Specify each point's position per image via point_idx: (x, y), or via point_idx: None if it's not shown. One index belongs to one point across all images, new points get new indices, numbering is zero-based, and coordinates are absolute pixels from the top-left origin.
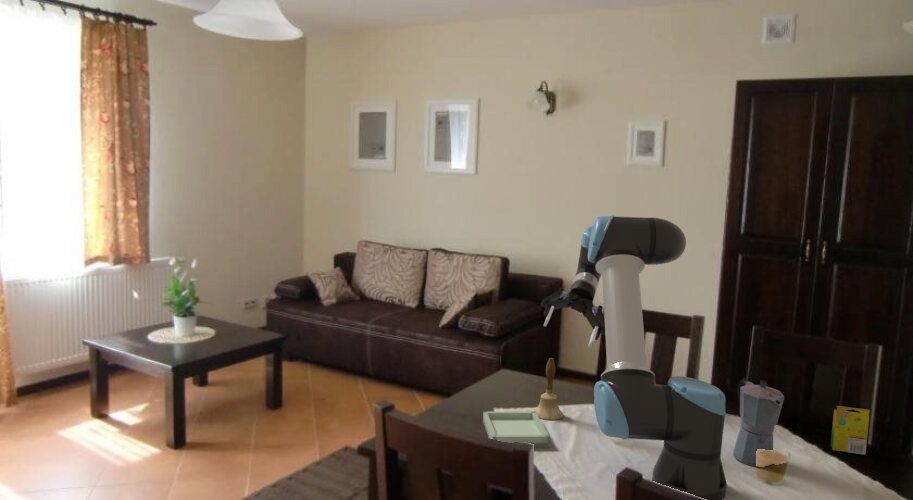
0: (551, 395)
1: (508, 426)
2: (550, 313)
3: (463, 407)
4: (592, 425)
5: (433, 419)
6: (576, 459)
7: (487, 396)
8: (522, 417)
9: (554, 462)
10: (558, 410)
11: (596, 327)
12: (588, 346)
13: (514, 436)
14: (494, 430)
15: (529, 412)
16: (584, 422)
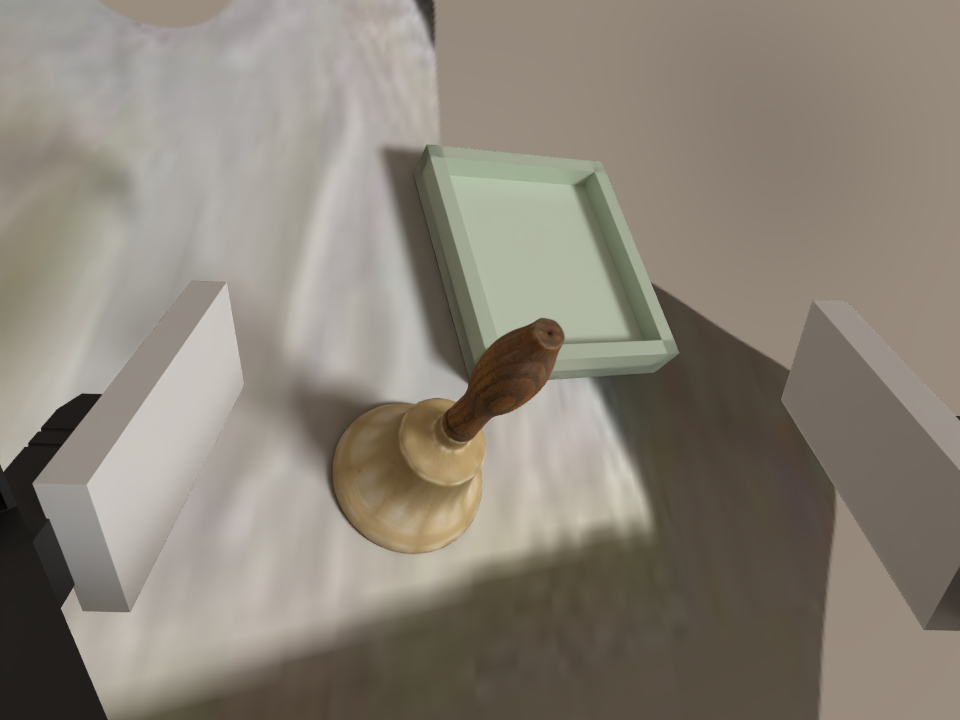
0: (436, 411)
1: (565, 287)
2: (895, 376)
3: (755, 509)
4: None
5: None
6: (325, 94)
7: (714, 683)
8: None
9: (398, 89)
10: (369, 435)
11: (85, 457)
12: (239, 381)
13: (540, 156)
14: (603, 257)
15: None
16: None
